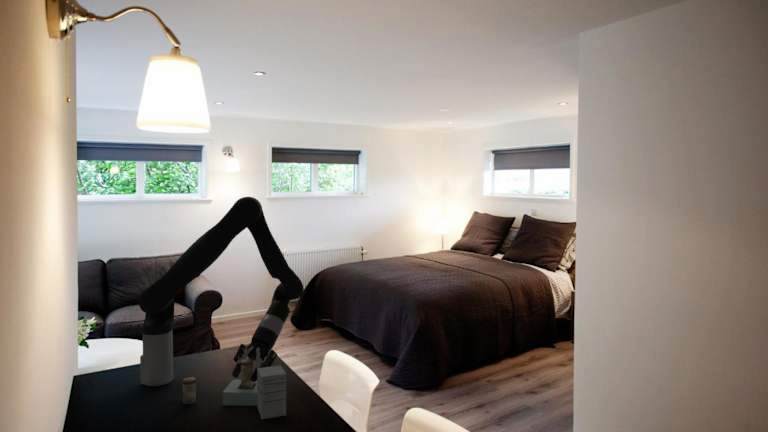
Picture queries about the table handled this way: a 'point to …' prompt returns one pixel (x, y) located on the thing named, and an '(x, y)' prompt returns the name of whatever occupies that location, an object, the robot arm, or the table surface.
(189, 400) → the short pin
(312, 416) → the table surface
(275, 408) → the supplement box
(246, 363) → the tall pin
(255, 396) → the socket block
